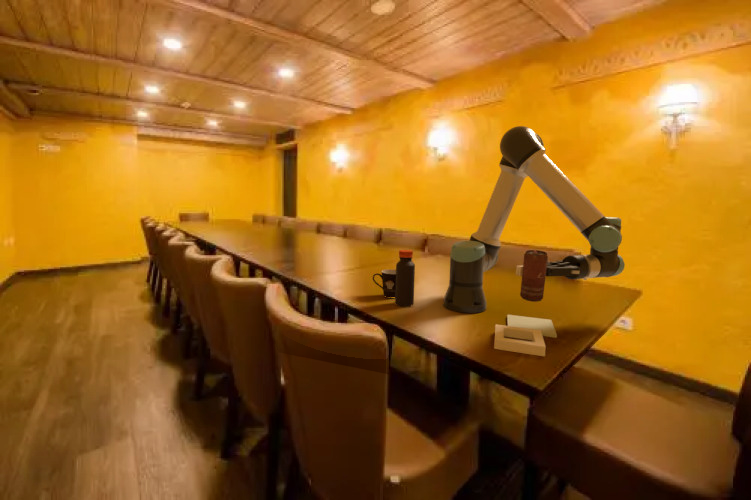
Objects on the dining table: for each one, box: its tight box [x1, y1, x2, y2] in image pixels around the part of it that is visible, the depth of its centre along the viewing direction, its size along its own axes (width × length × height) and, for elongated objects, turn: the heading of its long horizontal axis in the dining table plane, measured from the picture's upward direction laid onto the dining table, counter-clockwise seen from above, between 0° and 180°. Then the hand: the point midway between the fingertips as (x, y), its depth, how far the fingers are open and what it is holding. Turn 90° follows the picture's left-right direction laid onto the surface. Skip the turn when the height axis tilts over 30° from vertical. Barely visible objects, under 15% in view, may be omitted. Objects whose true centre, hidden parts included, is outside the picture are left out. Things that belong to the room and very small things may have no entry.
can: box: [519, 249, 549, 303], centre depth 99 cm, size 6×6×14 cm
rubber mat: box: [506, 314, 558, 339], centre depth 105 cm, size 13×13×1 cm
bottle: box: [394, 249, 416, 307], centre depth 125 cm, size 7×7×20 cm
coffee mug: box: [372, 269, 396, 298], centre depth 137 cm, size 12×9×10 cm
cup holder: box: [493, 324, 547, 358], centre depth 93 cm, size 12×12×2 cm
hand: (518, 270), depth 100 cm, fingers closed on can
